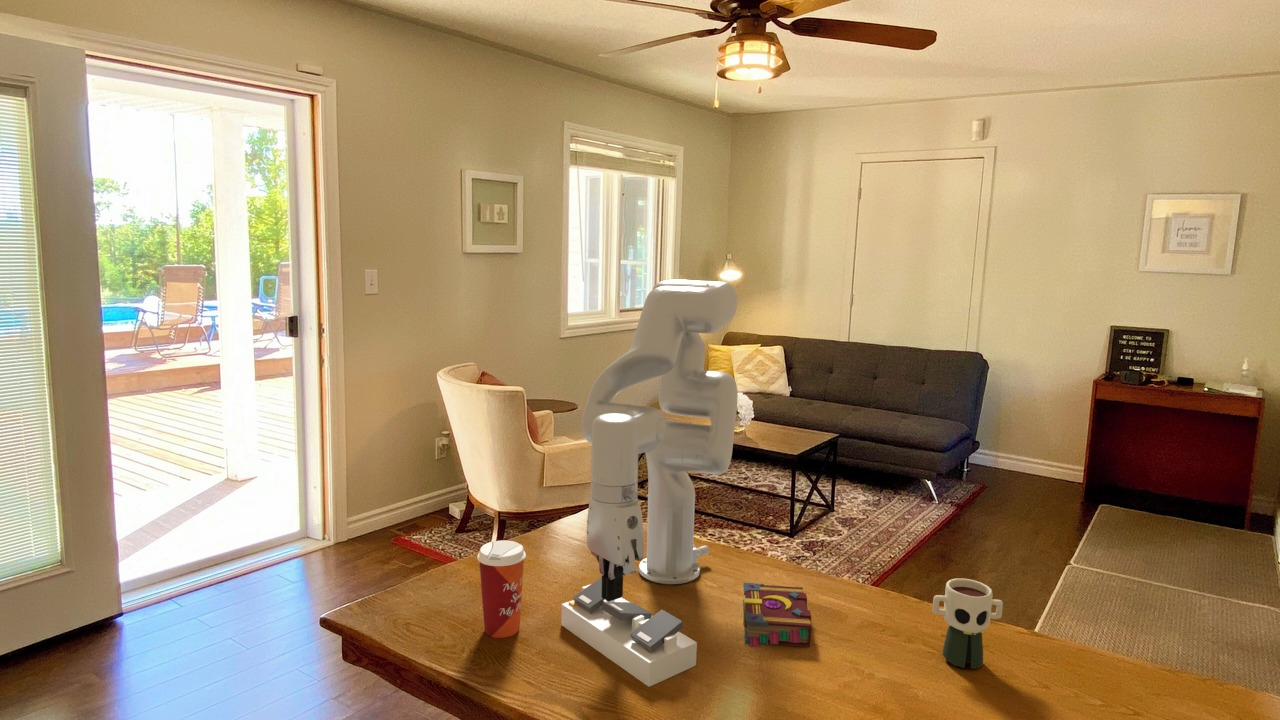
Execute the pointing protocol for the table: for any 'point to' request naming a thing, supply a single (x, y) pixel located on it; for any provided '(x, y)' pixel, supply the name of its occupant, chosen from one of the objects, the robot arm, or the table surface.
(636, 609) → the rocker mid
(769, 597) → the decorative book
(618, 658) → the strip
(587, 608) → the rocker
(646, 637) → the rocker
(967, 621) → the character mug
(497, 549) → the coffee cup
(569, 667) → the table surface
